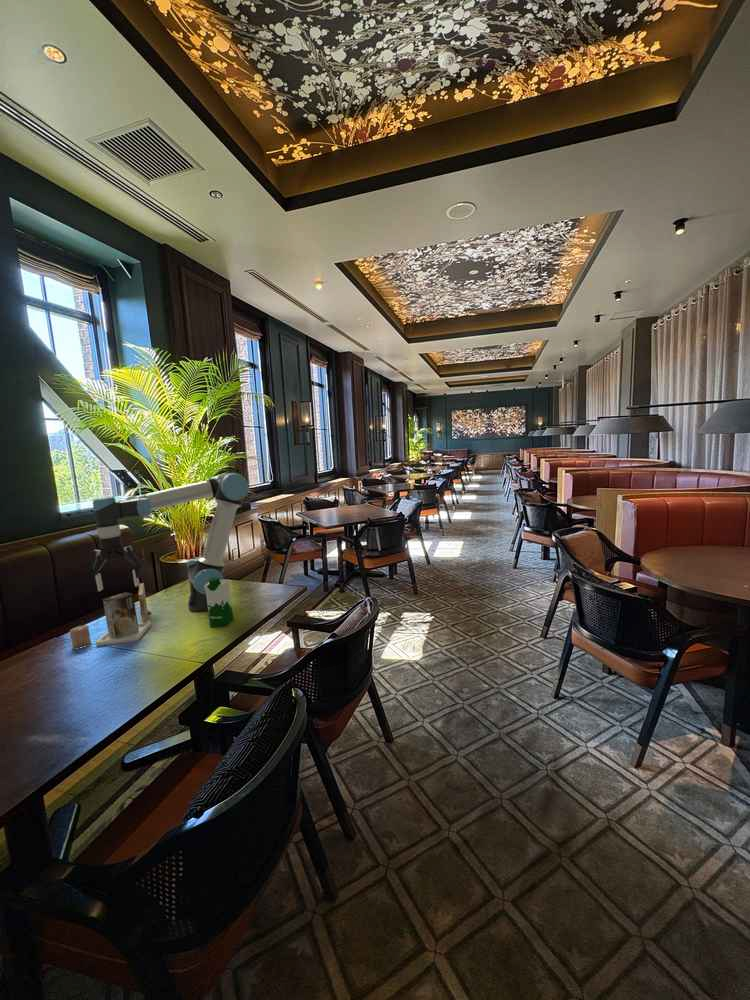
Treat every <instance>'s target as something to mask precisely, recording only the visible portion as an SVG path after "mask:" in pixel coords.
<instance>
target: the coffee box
mask: <svg viewBox="0 0 750 1000" xmlns="http://www.w3.org/2000/svg"><path fill="white" fill-rule="evenodd" d="M102 604H103V609H104V616H105V621H106V626H107V631H108V633H109V637H111V638H113V639H116V638H122V637H125V636H127V635H130V634H132V633H135V632H137V631H139V627H138V623H139V622H138V618H137V617H138V616H137V610H136V603H135V598H134V594H133V593H130V592H126V591H125V592H122V593H118V594H115V595H112V596H109V597H106V598H103V599H102Z"/></svg>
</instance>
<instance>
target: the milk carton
mask: <svg viewBox="0 0 750 1000" xmlns="http://www.w3.org/2000/svg"><path fill="white" fill-rule="evenodd" d="M230 587H231V579H229V578H228V579H226V578H225V579H224V578H223V580H220V579H219V578H212V579H210V580H209V583H207V584H206V585H205V586H204V588H205V592H206V597H207V605H208V610H207V612H208V619H209V627H210V628H226V627H228V626H229V625H230V624H231V623H232V622H233V621H234V615H233V607H232V597H231V589H230Z"/></svg>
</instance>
